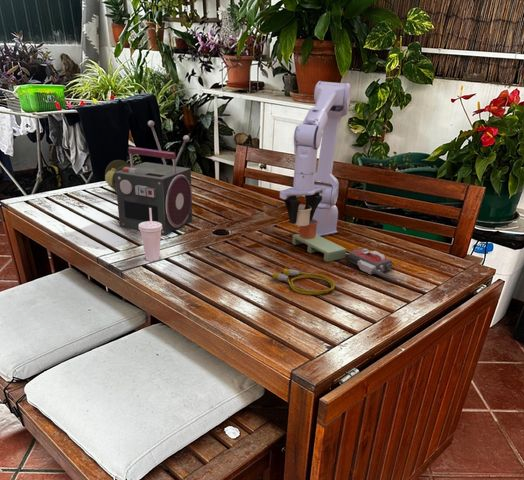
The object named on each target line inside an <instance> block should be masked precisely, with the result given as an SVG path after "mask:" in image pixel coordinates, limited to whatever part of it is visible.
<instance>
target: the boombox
mask: <svg viewBox="0 0 524 480" xmlns="http://www.w3.org/2000/svg"><path fill="white" fill-rule="evenodd" d="M147 126H148V127H149V128H151V132H152V134H153V137H154V140H155V143H156V146H157V149H150V148H143V147H136V146H128V154H129V159H130V160H129V165H130V166H131V167H124V168H122V170H119V171H116V172H114V174H115V183H116V191H115V193H116V202H117V203H116V204H117V212H118V221H119V227H121V228H125V229H132V230H136V231H140V230H139V229H138V228H139V226H138V225H139V224H140V223H142V222H146V221H150V213H149V208H151V212H152V221H155V222H159V223H161V224H162V229H161V236H168V235H169V234H171V233H173V232H175V231H177V230H178V229H180V228H181V227H184V226H185V225H187V224H189V223H191V222H192V221H193V190H192V168H189V167H183V166H177V164H178V162H179V160H180V157H181V155H182V152H183V151H184V148H185V146H186V143H188V142H189V141H190V136H189V135H187V134H186V135H184V136H183V137H182V140H183V142H182V145H181V147H180V148H179V151H178V153H176V152H174V151H166V150H162V148H161V145H160V142H159V138H158V136H157V133H156V129H155V127H154V126H155V121H153V120H148V121H147ZM133 155H139V156H145V157H152V158H153V157H154V158H161V160H162V163H163V164H162V163H155V162H148V161H144V162H141V163H138V164H135V165H134V156H133ZM166 159H167V160H172V165H171V164H170V165H169V164H167V162H166Z"/></svg>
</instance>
